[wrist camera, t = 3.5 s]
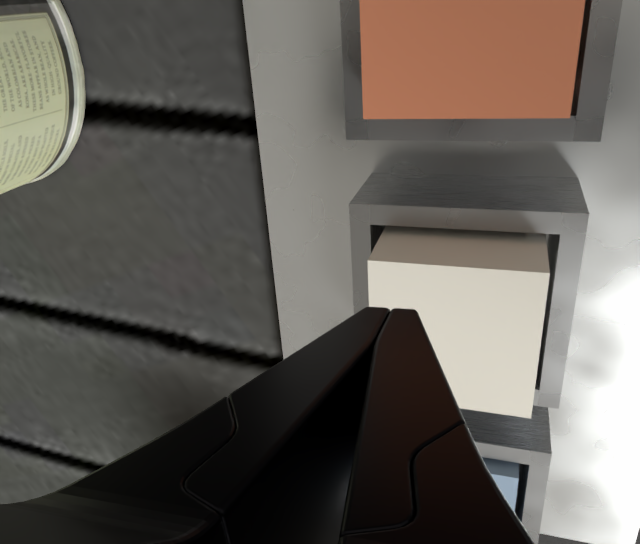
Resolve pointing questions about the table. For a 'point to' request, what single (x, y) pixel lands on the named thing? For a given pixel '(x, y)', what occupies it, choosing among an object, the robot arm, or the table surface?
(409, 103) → the rust key
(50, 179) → the table surface
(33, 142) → the coffee can
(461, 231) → the ivory key
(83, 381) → the table surface
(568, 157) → the key panel
